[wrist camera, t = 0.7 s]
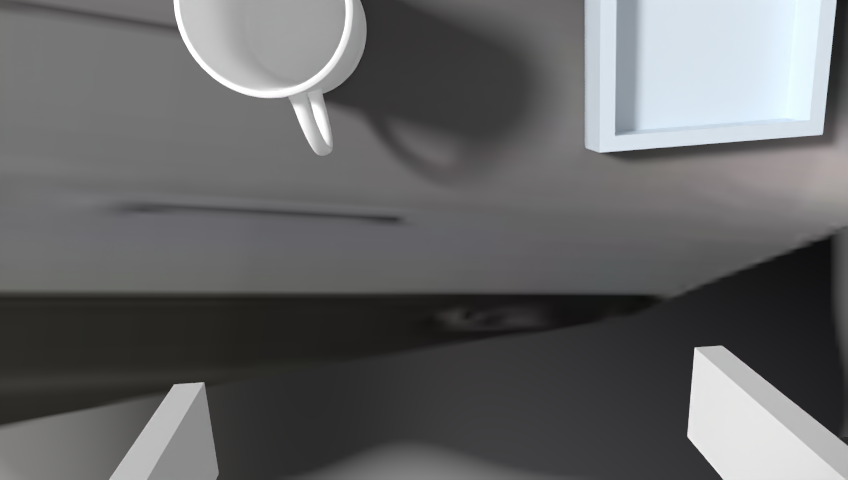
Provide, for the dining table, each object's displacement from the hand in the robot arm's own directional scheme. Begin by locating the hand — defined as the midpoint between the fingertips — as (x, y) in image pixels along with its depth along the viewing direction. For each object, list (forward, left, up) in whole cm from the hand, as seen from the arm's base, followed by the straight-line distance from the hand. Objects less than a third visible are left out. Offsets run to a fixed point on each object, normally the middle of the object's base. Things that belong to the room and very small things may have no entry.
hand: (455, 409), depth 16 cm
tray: (-11, +20, -27) cm, 35 cm away
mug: (-11, -6, -27) cm, 30 cm away
